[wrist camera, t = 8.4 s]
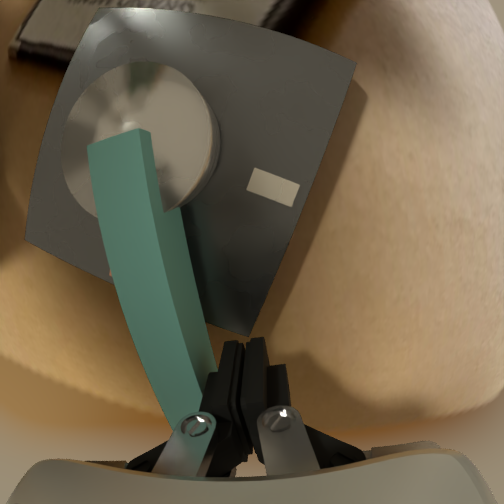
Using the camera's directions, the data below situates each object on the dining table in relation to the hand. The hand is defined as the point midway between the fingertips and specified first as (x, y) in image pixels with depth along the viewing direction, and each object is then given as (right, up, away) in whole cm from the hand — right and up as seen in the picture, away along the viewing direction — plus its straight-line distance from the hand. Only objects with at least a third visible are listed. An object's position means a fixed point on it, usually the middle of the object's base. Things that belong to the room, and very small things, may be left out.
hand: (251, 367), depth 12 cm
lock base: (-4, +10, +1) cm, 11 cm away
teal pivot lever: (-3, +5, +1) cm, 6 cm away
